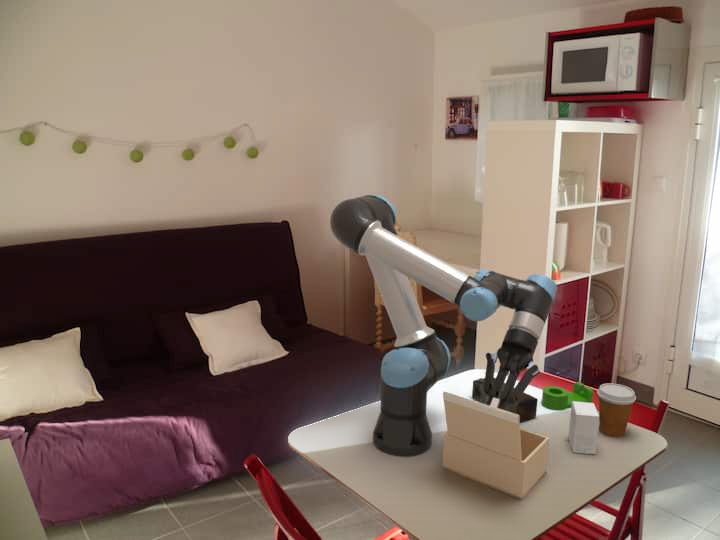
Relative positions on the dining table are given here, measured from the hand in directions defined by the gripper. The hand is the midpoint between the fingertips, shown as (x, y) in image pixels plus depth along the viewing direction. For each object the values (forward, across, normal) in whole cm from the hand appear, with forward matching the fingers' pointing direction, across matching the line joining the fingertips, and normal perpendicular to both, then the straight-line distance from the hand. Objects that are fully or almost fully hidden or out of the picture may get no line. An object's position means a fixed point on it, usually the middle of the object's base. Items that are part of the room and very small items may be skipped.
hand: (487, 427), depth 134 cm
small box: (-11, -12, -33) cm, 37 cm away
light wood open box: (+6, +1, -15) cm, 16 cm away
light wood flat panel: (+4, +1, -4) cm, 5 cm away
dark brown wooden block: (-16, +13, -39) cm, 44 cm away
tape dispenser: (-26, 0, -49) cm, 56 cm away
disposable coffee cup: (-20, -16, -42) cm, 49 cm away
